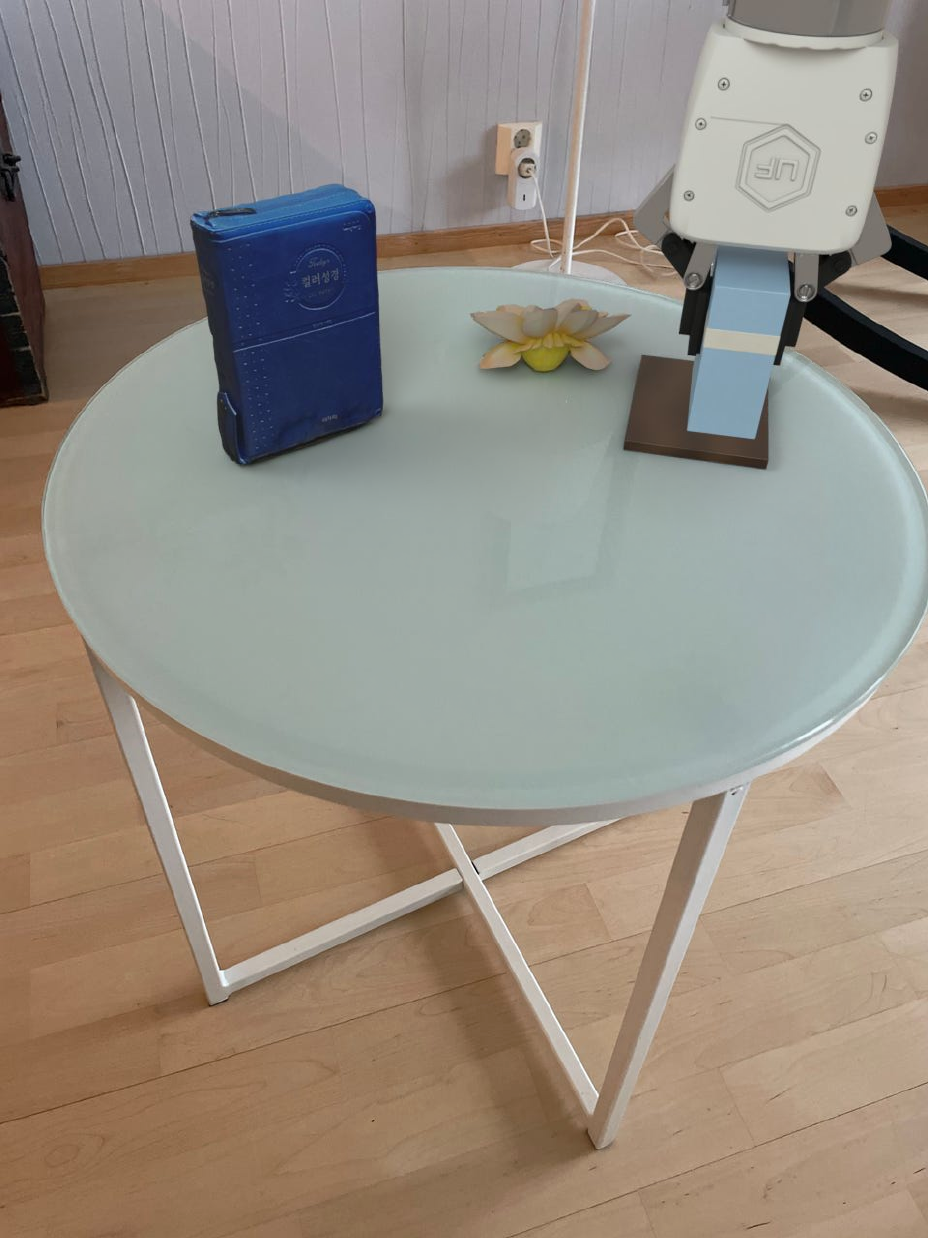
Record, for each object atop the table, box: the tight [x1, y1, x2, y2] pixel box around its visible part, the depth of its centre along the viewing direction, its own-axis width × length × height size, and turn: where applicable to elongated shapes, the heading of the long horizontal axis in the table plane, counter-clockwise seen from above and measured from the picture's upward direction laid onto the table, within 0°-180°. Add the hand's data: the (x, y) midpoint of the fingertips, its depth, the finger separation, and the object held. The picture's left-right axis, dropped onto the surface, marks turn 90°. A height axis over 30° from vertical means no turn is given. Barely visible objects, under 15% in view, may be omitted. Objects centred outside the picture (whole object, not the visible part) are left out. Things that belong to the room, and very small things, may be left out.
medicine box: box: [687, 245, 790, 439], centre depth 59 cm, size 4×8×9 cm, turn 168°
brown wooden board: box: [623, 354, 770, 470], centre depth 90 cm, size 12×16×1 cm
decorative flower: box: [469, 298, 632, 373], centre depth 94 cm, size 15×11×10 cm
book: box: [189, 183, 384, 466], centre depth 79 cm, size 14×5×20 cm, turn 126°
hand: (734, 347), depth 60 cm, fingers closed on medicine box, 4 cm apart
